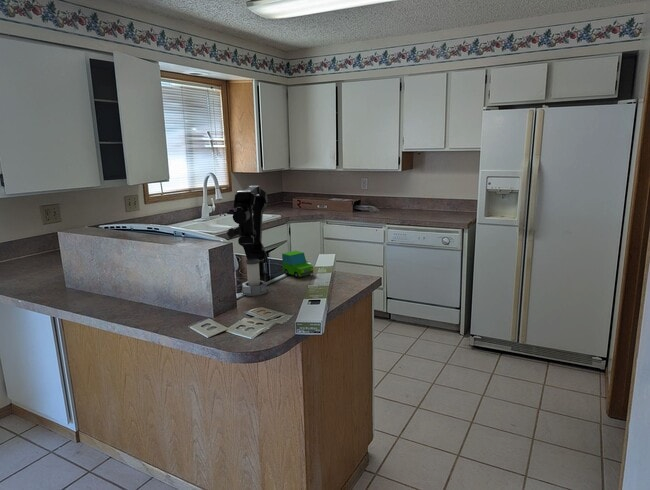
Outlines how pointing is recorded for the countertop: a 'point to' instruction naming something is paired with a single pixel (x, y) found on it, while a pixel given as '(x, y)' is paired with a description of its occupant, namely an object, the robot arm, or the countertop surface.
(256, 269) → the white cylinder
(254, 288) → the grey octagonal ring
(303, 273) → the toy car
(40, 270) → the countertop surface
